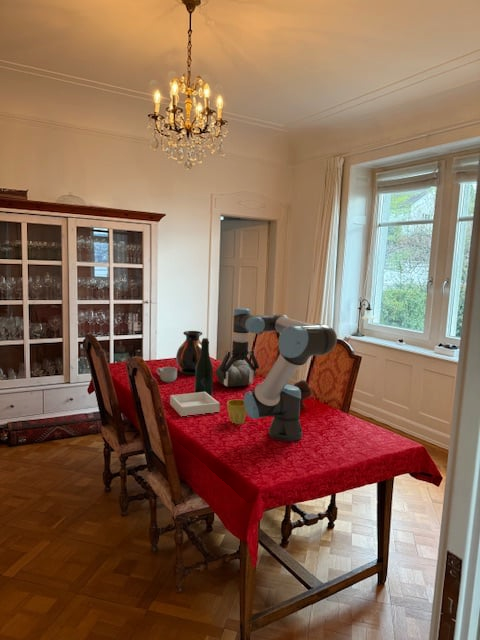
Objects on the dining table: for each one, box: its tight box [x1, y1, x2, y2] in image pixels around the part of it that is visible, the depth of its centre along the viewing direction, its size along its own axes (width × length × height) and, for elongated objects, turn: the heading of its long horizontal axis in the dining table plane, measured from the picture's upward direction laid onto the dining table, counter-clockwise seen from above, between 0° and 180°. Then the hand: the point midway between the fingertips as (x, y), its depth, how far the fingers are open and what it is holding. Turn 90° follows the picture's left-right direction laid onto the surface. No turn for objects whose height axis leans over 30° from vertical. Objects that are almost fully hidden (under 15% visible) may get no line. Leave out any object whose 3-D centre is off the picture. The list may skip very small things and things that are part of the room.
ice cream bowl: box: [293, 379, 313, 409], centre depth 241 cm, size 11×11×15 cm
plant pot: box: [226, 398, 247, 425], centre depth 214 cm, size 10×10×10 cm
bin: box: [169, 392, 220, 417], centre depth 231 cm, size 20×20×5 cm
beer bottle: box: [194, 337, 214, 397], centre depth 253 cm, size 10×10×33 cm
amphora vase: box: [175, 330, 203, 376], centre depth 300 cm, size 22×22×28 cm
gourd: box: [215, 360, 256, 388], centre depth 277 cm, size 25×25×17 cm
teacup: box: [156, 366, 178, 383], centre depth 279 cm, size 14×11×8 cm
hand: (238, 384), depth 213 cm, fingers open, 13 cm apart
